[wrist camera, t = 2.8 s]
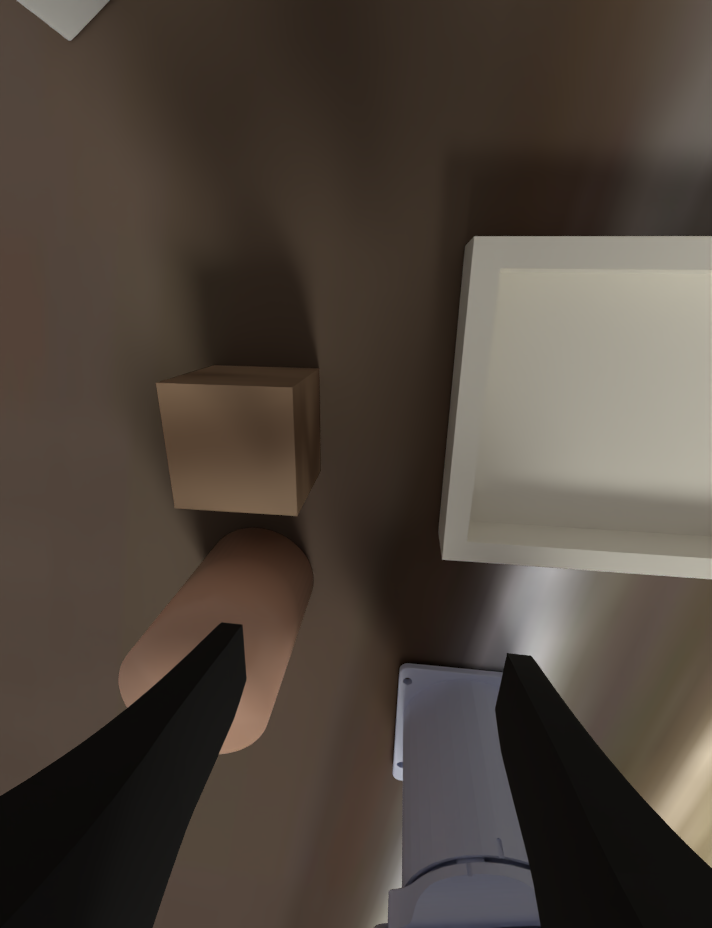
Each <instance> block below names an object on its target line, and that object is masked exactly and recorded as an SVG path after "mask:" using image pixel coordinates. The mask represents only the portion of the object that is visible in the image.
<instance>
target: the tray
mask: <svg viewBox="0 0 712 928" xmlns="http://www.w3.org/2000/svg"><path fill="white" fill-rule="evenodd" d="M438 535H439V542H440V549H441V556H442V560H454V561H467V562H481V563H495V564H509V565H522V566H536V567H550V568H564V569H577V570H591V571H605V572H618V573H632V574H646V575H660V576H673V577H687V578H701V579H712V236H474V237H473V238H472V239H471V240H470V241H469V242H468V243H467V244H466V245H465V251H464V261H463V272H462V283H461V293H460V304H459V315H458V325H457V336H456V347H455V357H454V368H453V379H452V389H451V400H450V411H449V421H448V432H447V443H446V453H445V464H444V475H443V485H442V496H441V506H440V517H439V528H438Z"/></svg>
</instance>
